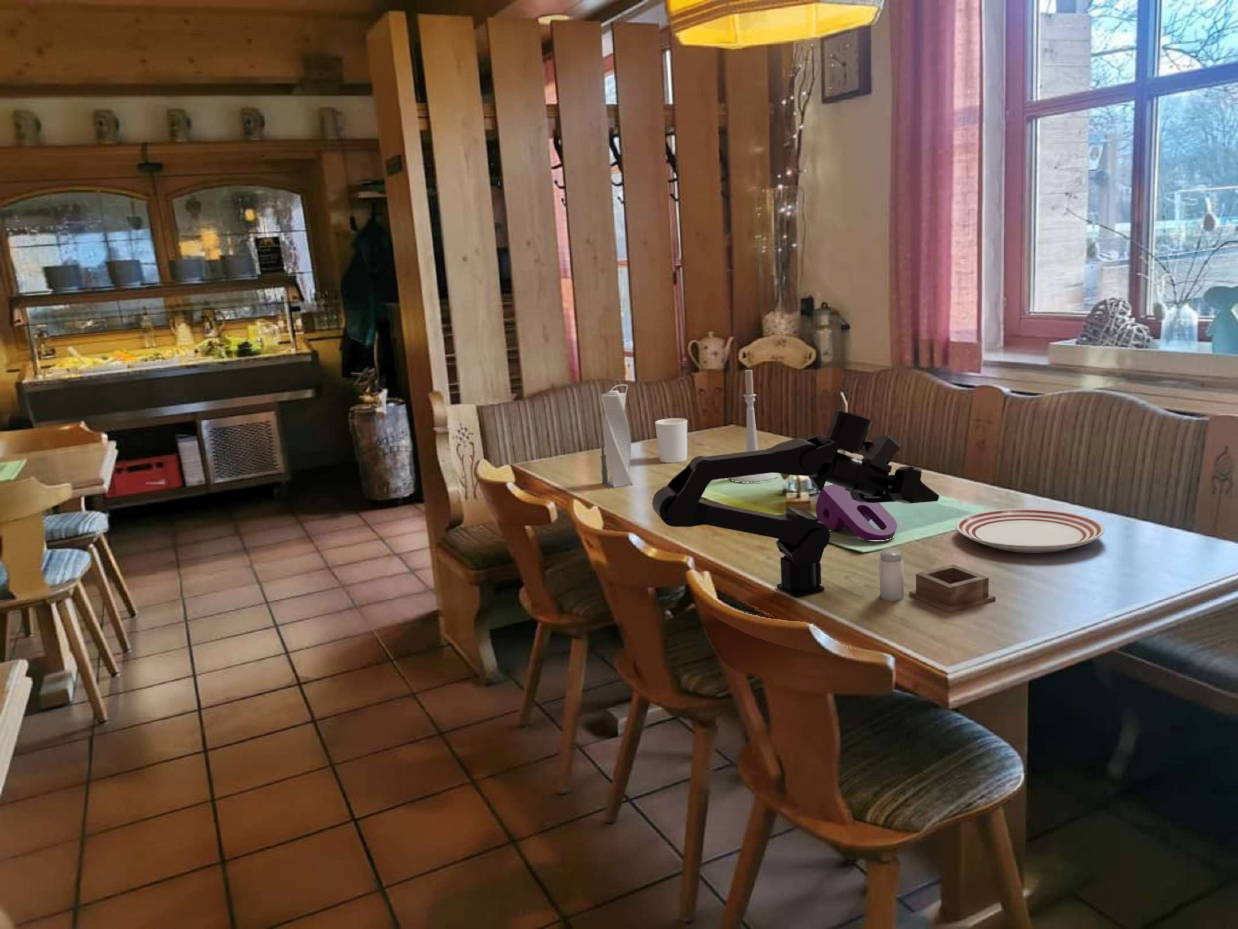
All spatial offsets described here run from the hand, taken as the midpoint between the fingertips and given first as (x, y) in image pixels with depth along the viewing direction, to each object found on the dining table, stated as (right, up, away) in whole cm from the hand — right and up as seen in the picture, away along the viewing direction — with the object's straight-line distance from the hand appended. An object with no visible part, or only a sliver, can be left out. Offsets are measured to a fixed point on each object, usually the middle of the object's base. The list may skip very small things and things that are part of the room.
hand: (923, 498), depth 173 cm
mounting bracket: (-4, -9, +30) cm, 32 cm away
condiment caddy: (+2, -17, -10) cm, 20 cm away
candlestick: (-19, +2, +83) cm, 86 cm away
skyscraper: (-56, 0, +88) cm, 104 cm away
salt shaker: (-8, -17, -7) cm, 20 cm away
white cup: (-40, +7, +113) cm, 120 cm away
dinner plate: (+27, -9, +17) cm, 33 cm away
